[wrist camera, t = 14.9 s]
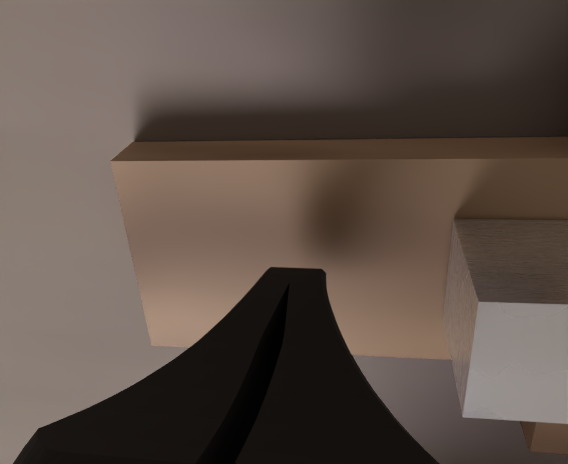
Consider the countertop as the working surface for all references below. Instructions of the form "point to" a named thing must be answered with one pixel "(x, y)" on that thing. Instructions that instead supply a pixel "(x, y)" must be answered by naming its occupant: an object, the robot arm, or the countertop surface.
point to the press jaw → (509, 318)
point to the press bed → (327, 229)
